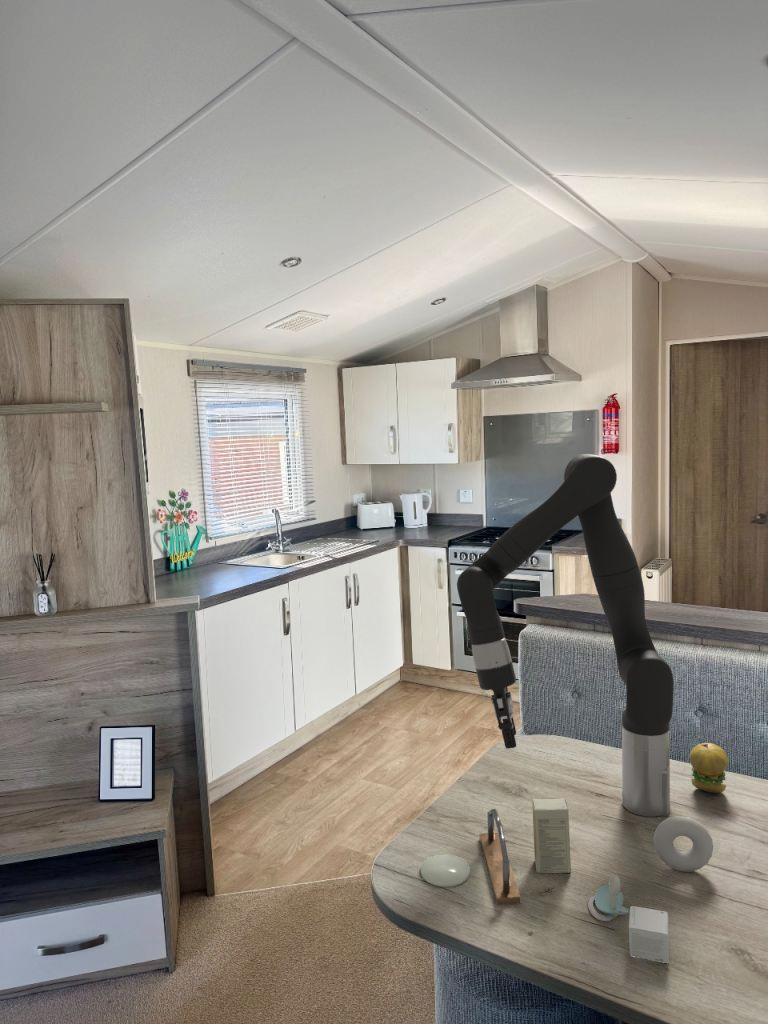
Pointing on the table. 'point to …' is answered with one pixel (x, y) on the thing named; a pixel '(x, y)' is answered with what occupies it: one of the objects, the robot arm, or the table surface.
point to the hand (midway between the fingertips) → (511, 741)
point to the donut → (683, 859)
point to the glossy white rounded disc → (445, 870)
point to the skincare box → (551, 835)
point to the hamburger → (708, 767)
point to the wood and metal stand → (499, 862)
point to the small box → (649, 934)
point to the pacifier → (608, 901)
